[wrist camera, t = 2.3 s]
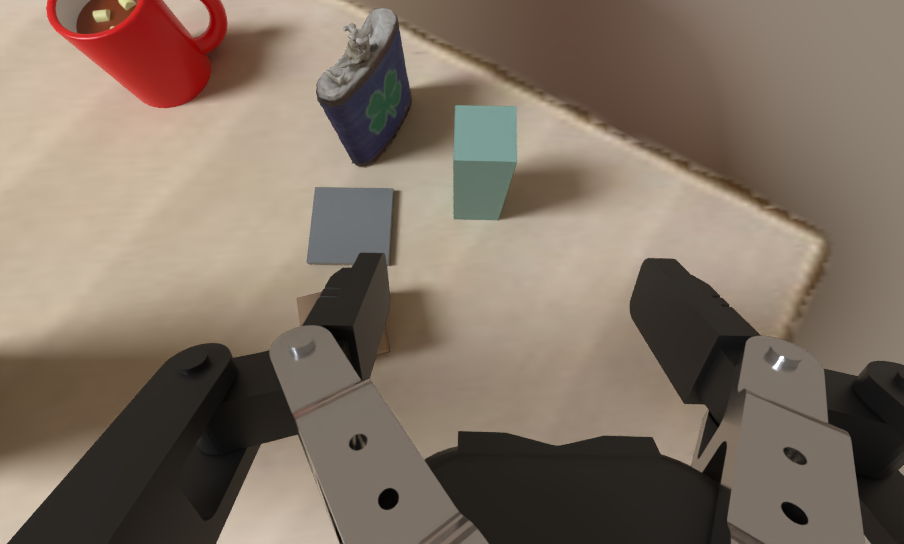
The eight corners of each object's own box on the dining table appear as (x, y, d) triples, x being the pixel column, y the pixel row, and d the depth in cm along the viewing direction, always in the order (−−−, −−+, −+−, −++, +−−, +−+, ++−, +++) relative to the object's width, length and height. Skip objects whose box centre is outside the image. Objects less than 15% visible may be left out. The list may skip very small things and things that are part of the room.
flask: (395, 86, 36) (371, -25, 25) (420, 98, 36) (407, -8, 25) (344, 160, 34) (296, 74, 24) (371, 174, 34) (333, 93, 23)
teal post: (453, 219, 33) (453, 160, 23) (454, 178, 34) (455, 105, 24) (498, 220, 33) (517, 161, 23) (498, 179, 34) (516, 106, 24)
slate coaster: (311, 266, 32) (306, 262, 31) (319, 193, 34) (315, 187, 33) (390, 267, 32) (388, 264, 31) (394, 194, 34) (392, 188, 33)
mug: (261, 60, 37) (210, -19, 29) (152, 122, 35) (68, 56, 28) (224, 9, 38) (166, -78, 31) (118, 66, 37) (29, -10, 29)
